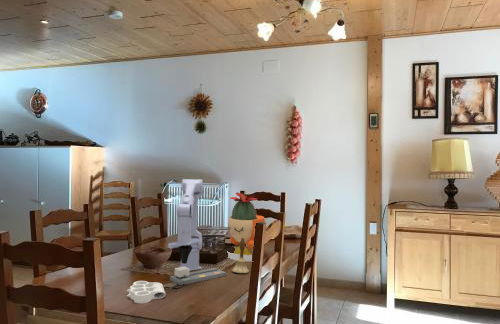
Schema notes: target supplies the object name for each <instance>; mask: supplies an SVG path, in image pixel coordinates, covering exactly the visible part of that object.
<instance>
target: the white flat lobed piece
mask: <svg viewBox="0 0 500 324" xmlns="http://www.w3.org/2000/svg"><path fill="white" fill-rule="evenodd" d="M125 291H126V292H128V294H127V295H126V296H127V297H129V299H130V300H133V303H135V304H146V303H149V302H150V301H151V300H159V299H163V298H164V297H166V291H165V288H164V285H163V284H162V283H161V282H156V281H155V282H151V281H150V282H149V281H146V280H137V281H135V282H133V283H132V285H130V286H129V288H128V289H127V290H125Z"/></svg>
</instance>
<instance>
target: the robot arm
mask: <svg viewBox="0 0 500 324" xmlns="http://www.w3.org/2000/svg"><path fill="white" fill-rule="evenodd" d="M203 189H204V182H203V179H202V178H201V179H197V178H196V179H191V178H190V179H187V178H183V179H182V180H181V191H182V194H183V195H182V196H181V198H180V203H179V204H177V207H176V217H177V218H176V219H177V241H173V242H170V243H168V244H167V248H168V249H177V251H178V254H179V257H180V265H179V266H178V268H179V267H184V266H185V267H187V268H189V269H190V272H191V271H196V270H203V267H201V266H200V250H202V248H203V234H202V232H200V231H199V230H198V201H199V197H202V196H203V191H204V190H203Z"/></svg>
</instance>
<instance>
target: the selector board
mask: <svg viewBox="0 0 500 324" xmlns="http://www.w3.org/2000/svg"><path fill="white" fill-rule="evenodd" d="M225 276H227V272H226V271H224V270H221V269H219V268H216V267H213V268H208V269H207V268H206V269H204V270H203V269H201V270H198V271H193V272H191V271H190V272H189V276H188V277H187V278H186V277H178V276H176V275H171V276H169V280H170V281H172V282H173V283H175V284H177V285H179V286H183V284H184V285H187V284H188V285H189V284H193V283H197V282H202V281H203V282H204V281H207V280H213V279H216V278H222V277H225Z"/></svg>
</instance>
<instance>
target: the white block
mask: <svg viewBox="0 0 500 324" xmlns="http://www.w3.org/2000/svg"><path fill="white" fill-rule="evenodd" d="M189 273H191V271H190V269H189V268H187V267H185V266H184V267H179V266H178V267H175V268H174V276H178V277H186V278H187V277H188V276H189Z"/></svg>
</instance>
